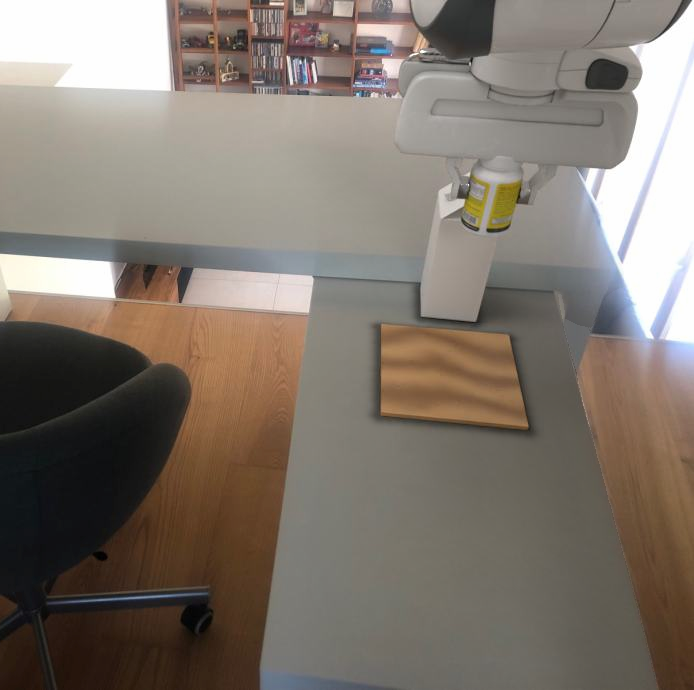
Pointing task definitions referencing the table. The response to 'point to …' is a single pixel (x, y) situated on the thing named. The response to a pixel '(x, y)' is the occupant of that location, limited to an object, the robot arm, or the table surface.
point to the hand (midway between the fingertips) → (491, 199)
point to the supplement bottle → (492, 196)
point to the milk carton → (454, 264)
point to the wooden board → (450, 377)
